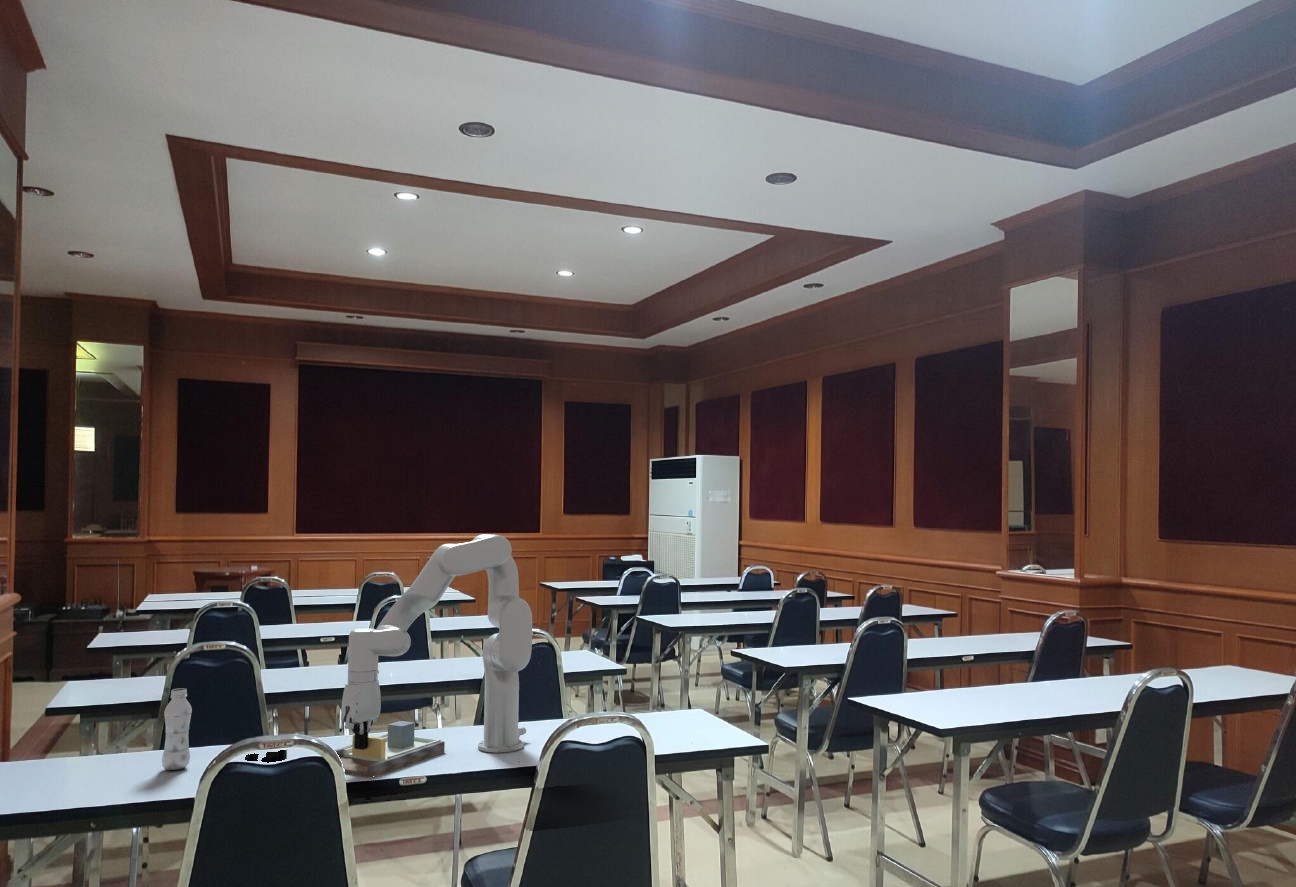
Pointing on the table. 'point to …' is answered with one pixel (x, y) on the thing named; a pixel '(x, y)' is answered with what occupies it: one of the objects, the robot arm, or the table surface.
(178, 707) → the plastic bottle
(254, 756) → the end cap
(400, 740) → the slate block
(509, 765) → the table surface
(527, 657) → the robot arm
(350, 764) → the guide base
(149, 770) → the table surface
